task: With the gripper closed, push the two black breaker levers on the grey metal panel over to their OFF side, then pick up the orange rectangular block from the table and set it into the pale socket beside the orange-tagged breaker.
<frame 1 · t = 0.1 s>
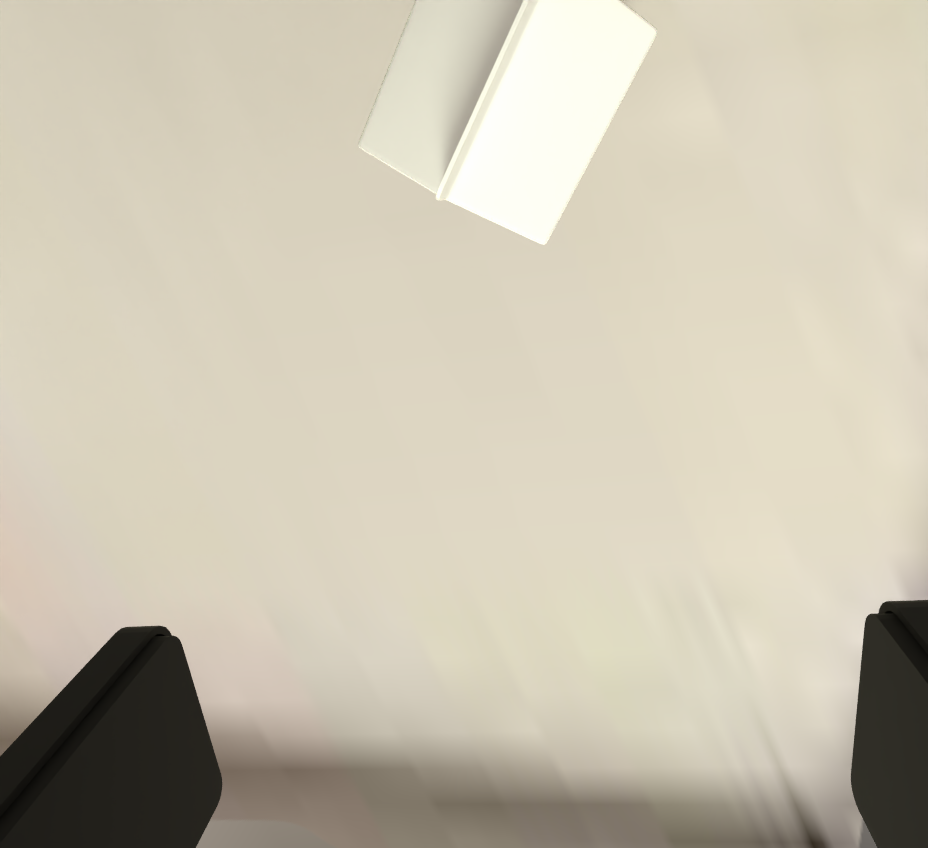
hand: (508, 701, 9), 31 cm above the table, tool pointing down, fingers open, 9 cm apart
milk: (521, 133, 36), on the table
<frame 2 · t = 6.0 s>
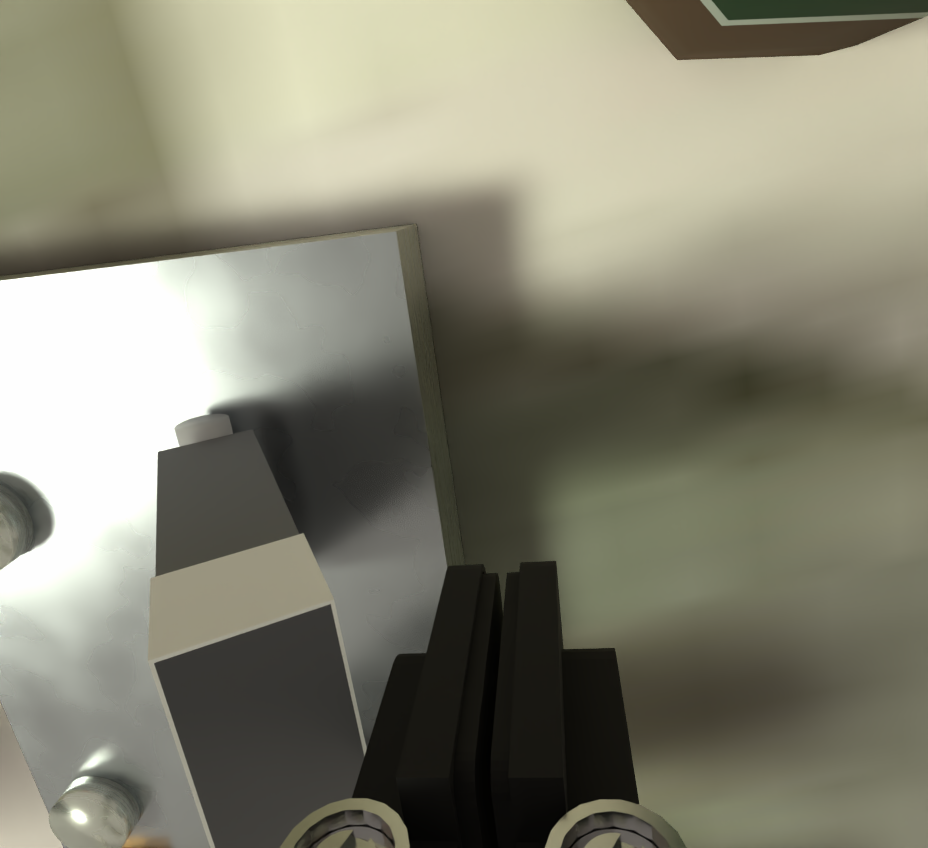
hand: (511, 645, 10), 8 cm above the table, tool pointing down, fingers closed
breaker a: (245, 598, 13), point 7 cm above the table, hinge at -29.5°, touching gripper
breaker panel: (270, 692, 22), on the table
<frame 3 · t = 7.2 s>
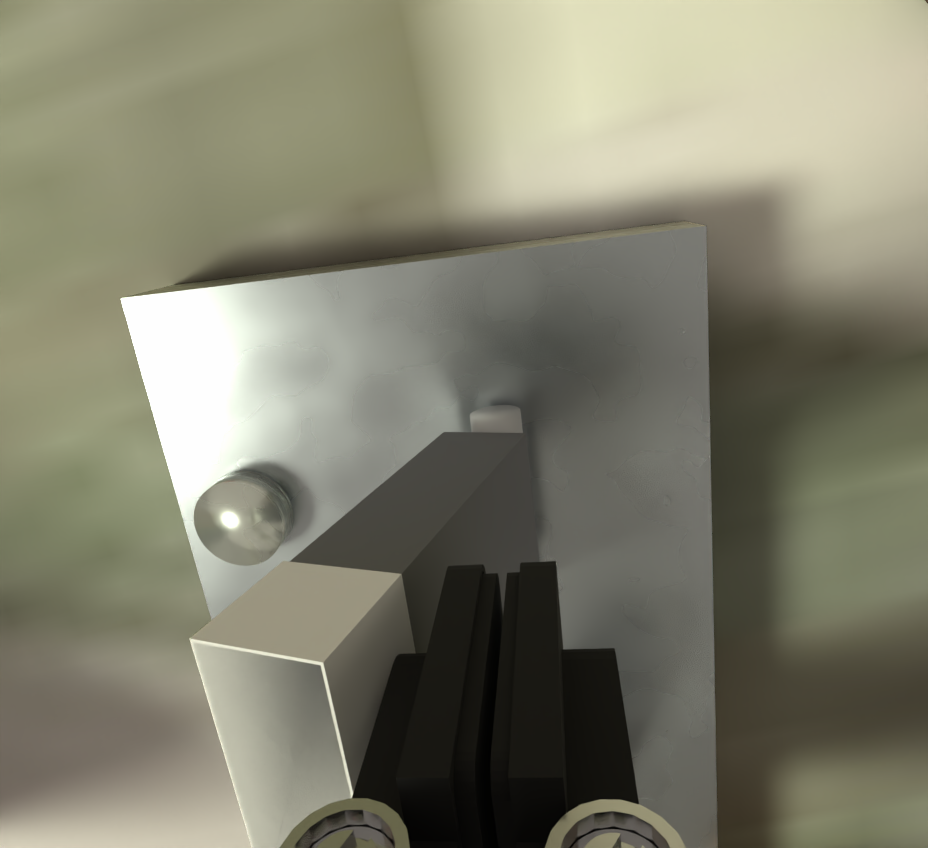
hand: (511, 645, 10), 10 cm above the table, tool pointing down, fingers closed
breaker a: (436, 597, 13), point 7 cm above the table, hinge at 16.2°, touching gripper
breaker panel: (477, 686, 22), on the table
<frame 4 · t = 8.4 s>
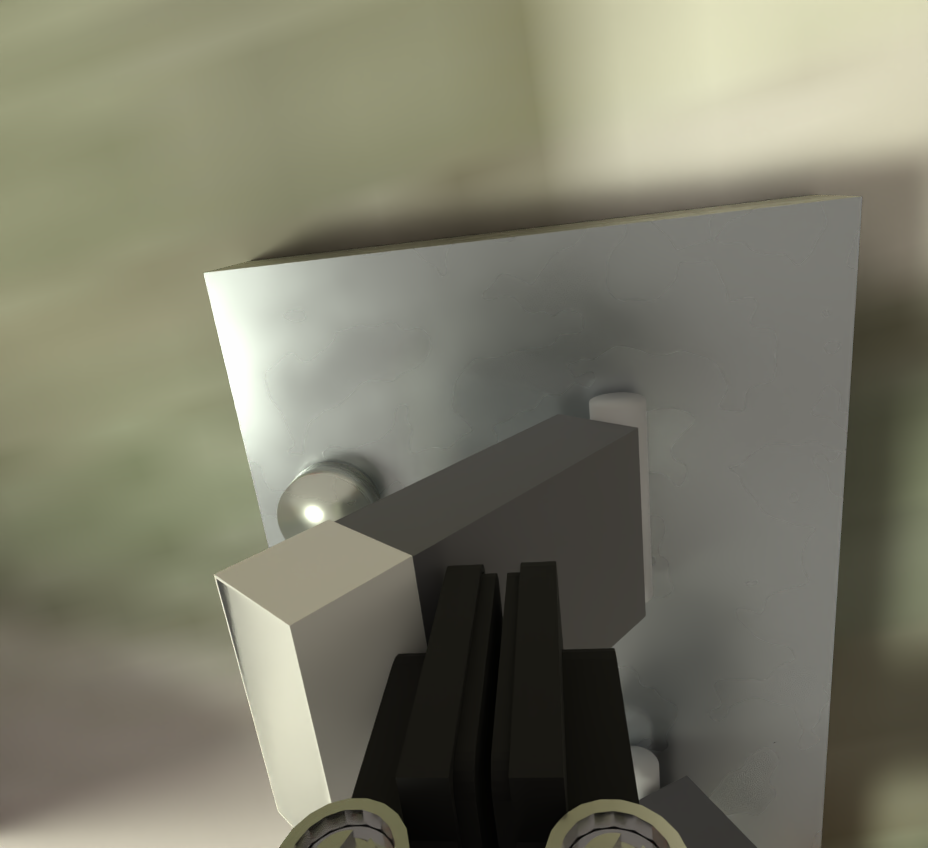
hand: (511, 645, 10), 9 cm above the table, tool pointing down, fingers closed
breaker a: (501, 583, 13), point 6 cm above the table, hinge at 38.7°, touching gripper
breaker panel: (557, 692, 21), on the table
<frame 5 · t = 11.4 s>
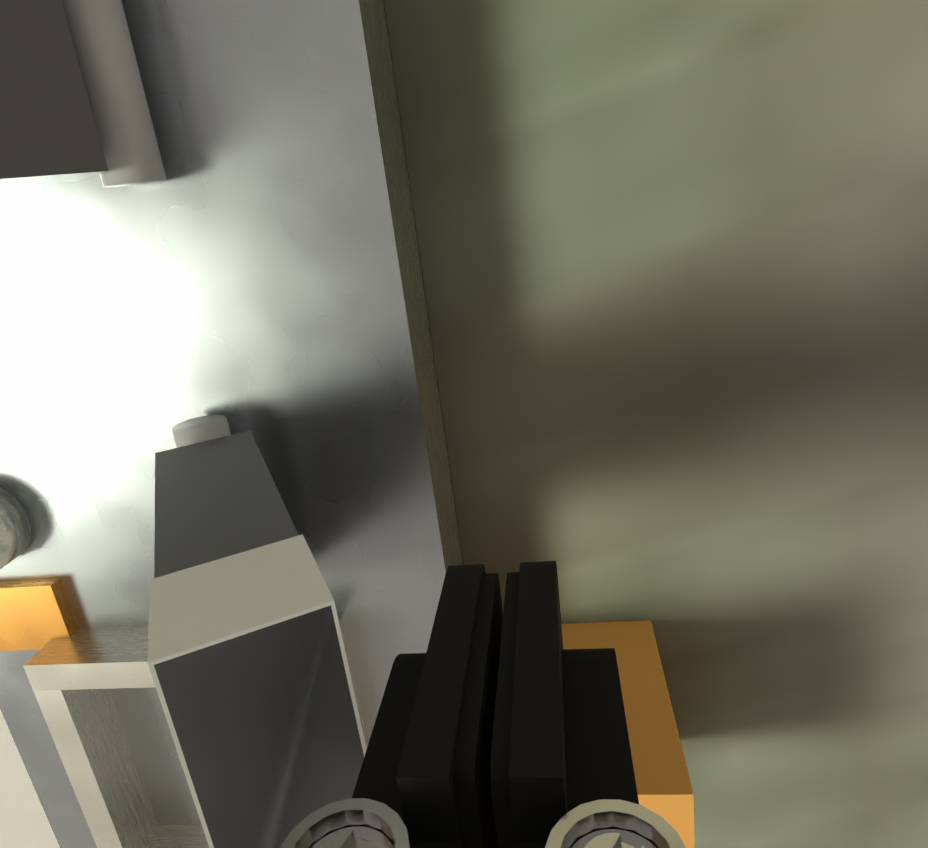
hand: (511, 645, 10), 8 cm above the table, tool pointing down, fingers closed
orange rectangular block: (577, 684, 21), on the table
breaker b: (243, 599, 13), point 7 cm above the table, hinge at -29.8°, touching gripper
breaker panel: (190, 403, 19), on the table
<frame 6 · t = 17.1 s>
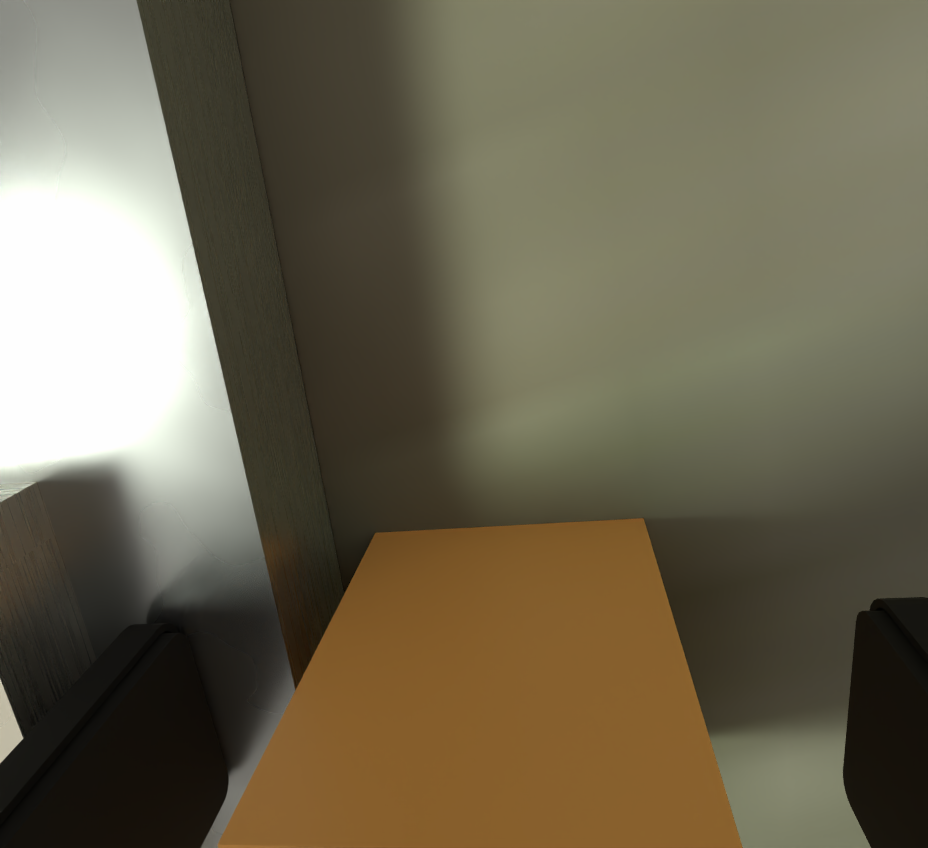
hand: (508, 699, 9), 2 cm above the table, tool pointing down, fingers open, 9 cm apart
orange rectangular block: (518, 638, 12), on the table
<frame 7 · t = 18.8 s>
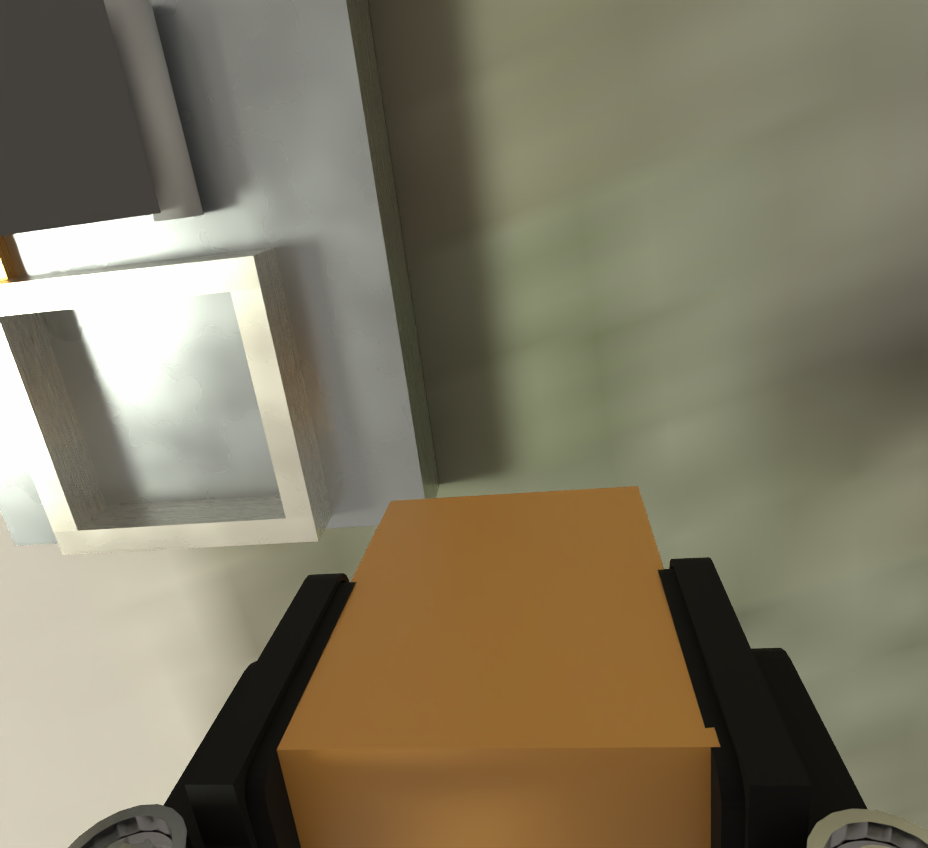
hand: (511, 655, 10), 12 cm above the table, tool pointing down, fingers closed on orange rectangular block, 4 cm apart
orange rectangular block: (521, 600, 13), point 10 cm above the table, touching gripper
breaker panel: (124, 51, 19), on the table
when the fingers open (5 cm above the table, at t = 22.1 s): orange rectangular block stays where it is, resting on breaker panel.
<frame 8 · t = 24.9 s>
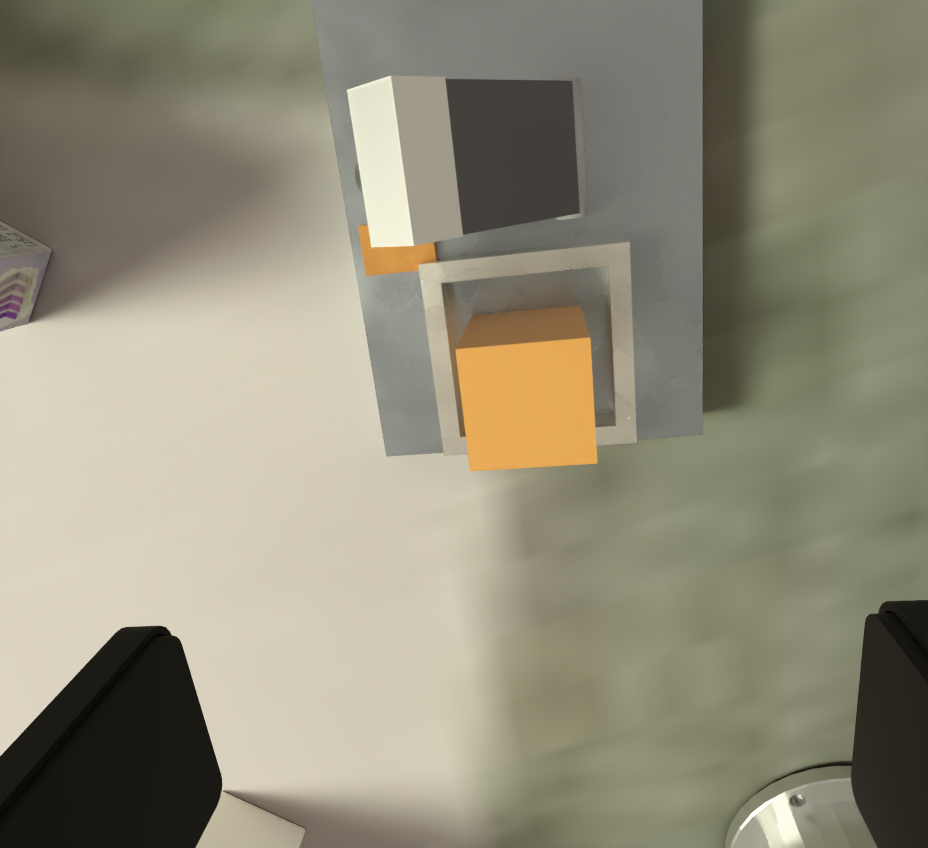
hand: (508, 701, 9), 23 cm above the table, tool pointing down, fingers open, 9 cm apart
orange rectangular block: (530, 362, 29), point 2 cm above the table, touching breaker panel
milk: (250, 834, 45), on the table
breaker b: (491, 157, 23), point 6 cm above the table, hinge at 40.1°
breaker panel: (512, 108, 28), on the table
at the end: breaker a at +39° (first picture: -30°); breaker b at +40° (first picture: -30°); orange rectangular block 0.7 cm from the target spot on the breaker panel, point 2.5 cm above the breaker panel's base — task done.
